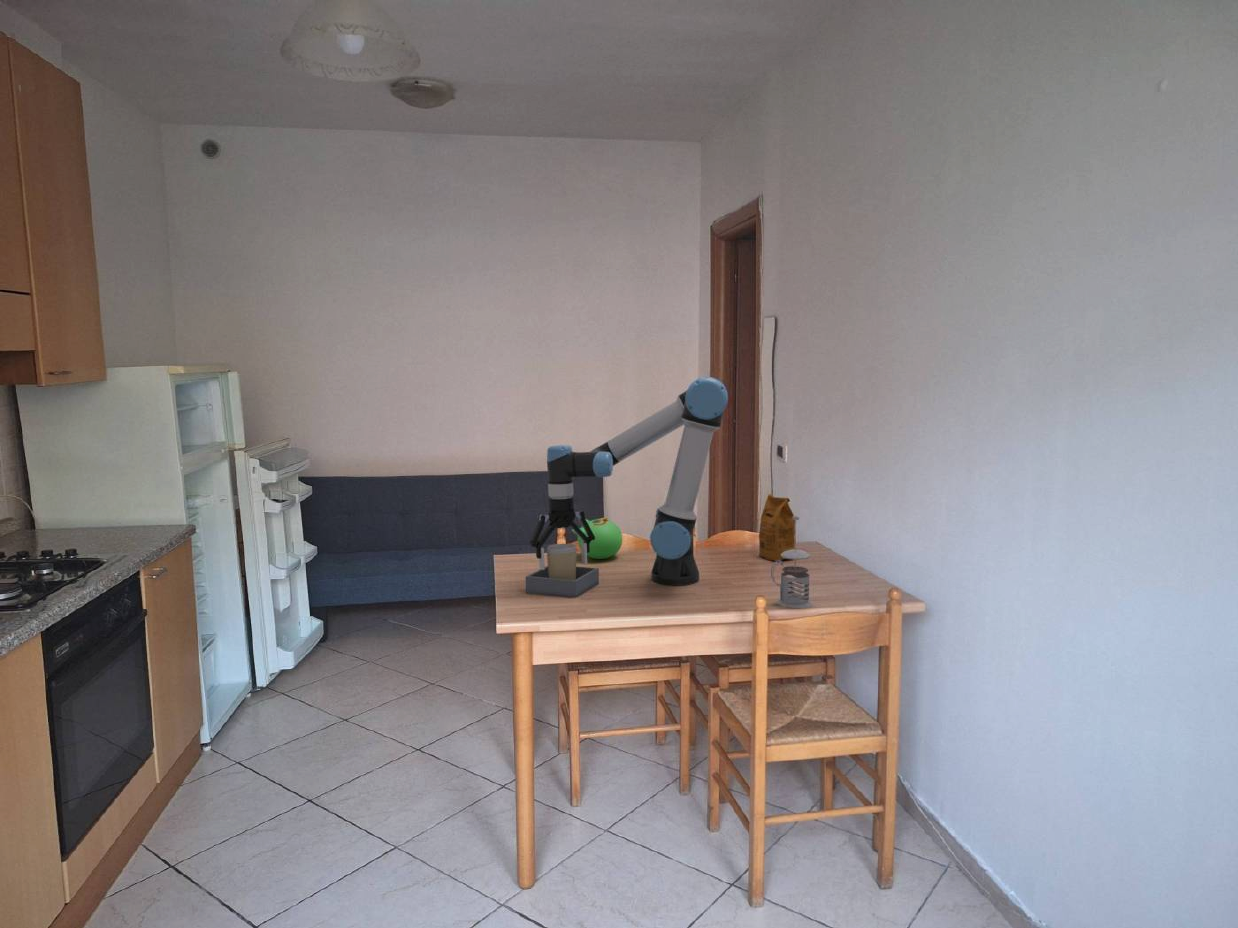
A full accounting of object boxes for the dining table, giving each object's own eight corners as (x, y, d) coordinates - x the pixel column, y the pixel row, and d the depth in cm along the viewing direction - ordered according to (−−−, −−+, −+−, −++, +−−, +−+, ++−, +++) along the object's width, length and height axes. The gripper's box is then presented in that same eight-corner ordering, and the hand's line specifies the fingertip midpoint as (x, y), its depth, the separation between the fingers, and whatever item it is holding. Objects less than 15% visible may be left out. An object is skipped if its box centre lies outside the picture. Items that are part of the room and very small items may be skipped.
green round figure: (620, 563, 276) (620, 521, 275) (572, 563, 278) (571, 521, 276) (624, 552, 294) (623, 512, 293) (578, 552, 295) (577, 512, 294)
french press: (817, 607, 222) (818, 517, 220) (776, 608, 222) (776, 519, 219) (806, 597, 232) (807, 511, 229) (766, 598, 231) (767, 512, 229)
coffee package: (778, 552, 290) (778, 492, 287) (798, 560, 278) (799, 497, 276) (754, 555, 286) (754, 494, 284) (773, 562, 275) (774, 499, 272)
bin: (598, 583, 250) (598, 568, 250) (576, 597, 235) (575, 581, 235) (551, 579, 257) (550, 564, 256) (525, 592, 241) (525, 576, 241)
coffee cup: (573, 580, 252) (572, 542, 250) (581, 587, 243) (580, 548, 241) (544, 583, 249) (543, 544, 247) (551, 590, 240) (550, 550, 239)
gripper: (595, 492, 251) (597, 558, 253) (517, 498, 241) (520, 568, 244) (604, 495, 244) (606, 563, 247) (524, 502, 235) (527, 573, 237)
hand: (563, 566), depth 245 cm, fingers open, 13 cm apart
